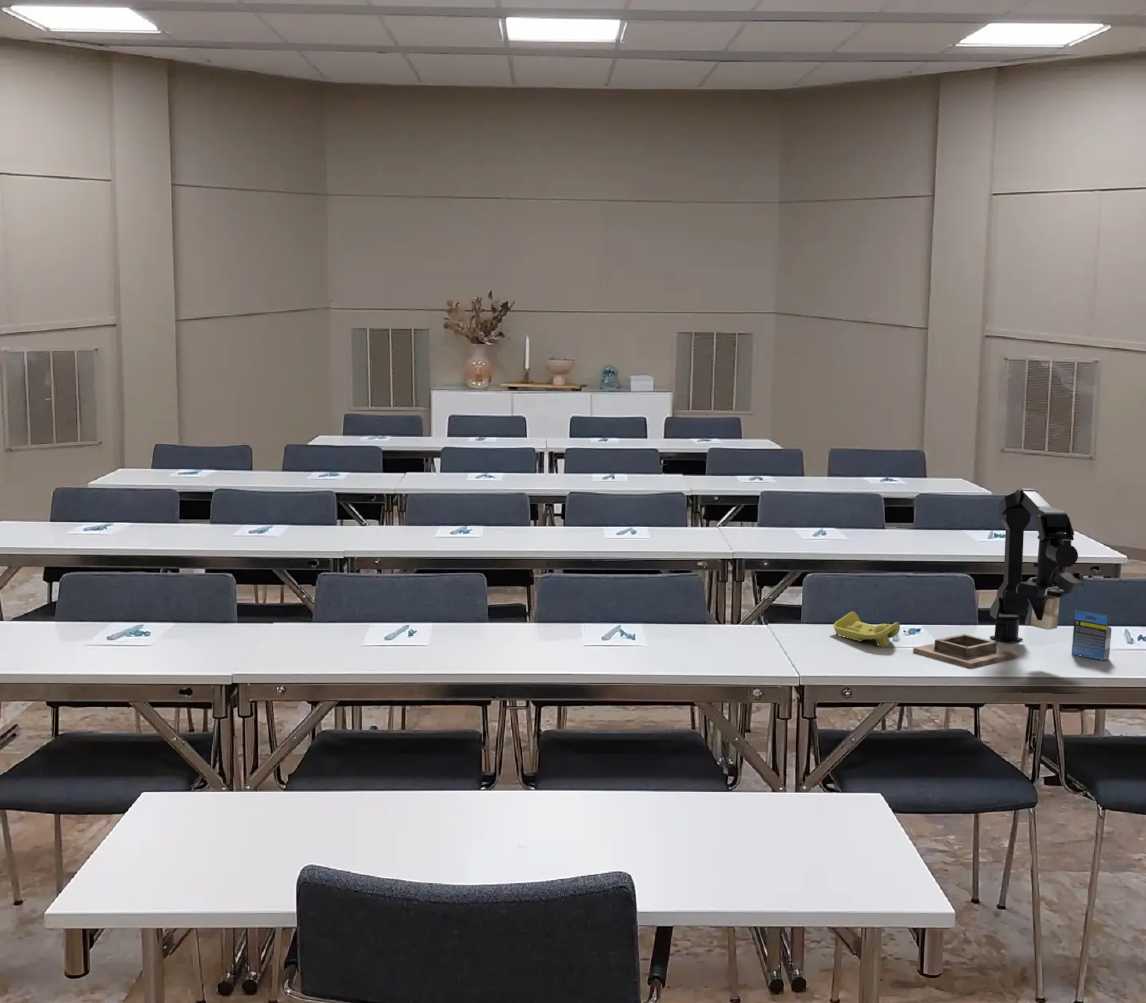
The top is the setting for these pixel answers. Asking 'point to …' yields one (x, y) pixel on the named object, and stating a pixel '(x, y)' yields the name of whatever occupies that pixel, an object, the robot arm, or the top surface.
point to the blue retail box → (1091, 636)
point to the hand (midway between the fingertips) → (1044, 619)
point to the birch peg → (1047, 615)
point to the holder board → (965, 651)
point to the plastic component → (865, 629)
